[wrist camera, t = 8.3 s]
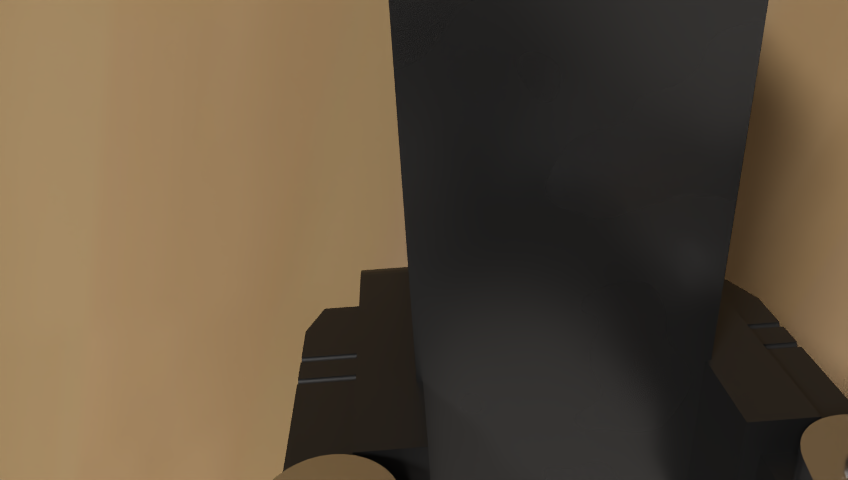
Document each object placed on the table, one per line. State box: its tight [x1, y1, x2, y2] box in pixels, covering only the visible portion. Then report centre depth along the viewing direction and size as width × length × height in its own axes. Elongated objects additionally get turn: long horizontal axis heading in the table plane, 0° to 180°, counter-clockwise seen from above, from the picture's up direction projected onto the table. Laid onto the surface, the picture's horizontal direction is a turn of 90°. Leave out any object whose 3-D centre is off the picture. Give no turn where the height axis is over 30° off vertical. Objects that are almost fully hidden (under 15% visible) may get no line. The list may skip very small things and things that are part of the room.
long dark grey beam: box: [389, 0, 768, 480], centre depth 10 cm, size 6×13×4 cm, turn 3°
